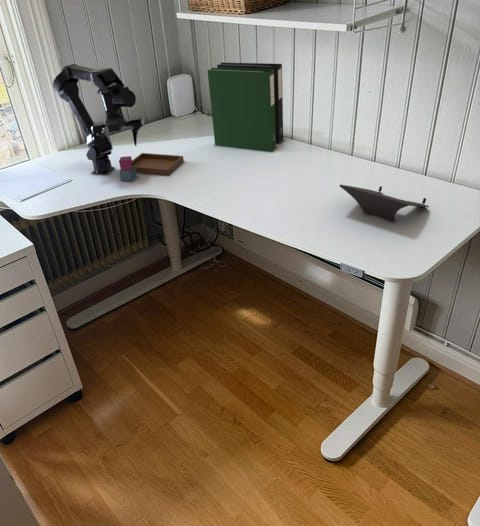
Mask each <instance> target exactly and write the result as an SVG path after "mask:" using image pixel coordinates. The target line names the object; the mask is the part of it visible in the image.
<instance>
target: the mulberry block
mask: <svg viewBox="0 0 480 526" xmlns="http://www.w3.org/2000/svg"><path fill="white" fill-rule="evenodd" d="M132 160H133V159H132V156H131V155H129V156H120V158H119V159H118V164H119V168H120V169H121V170H131V169H132V167H133V164H132Z"/></svg>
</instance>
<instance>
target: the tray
mask: <svg viewBox="0 0 480 526" xmlns="http://www.w3.org/2000/svg"><path fill="white" fill-rule="evenodd" d="M184 162H185V161H184V156H183V155H175V154H162V153H161V154H160V153H148V152H147V153H146V152H141V153H140V154H138V155H137V156H136V157H135V158H134V159H132V164H133V166H135V169H136V174H144V175H154V176H155V175H156V176H164V177H165V176H166V177H169V176H171V174H173V172H175V171H176V170H177V169H178V168H179V167H180V166H181V165H182V164H183V163H184Z"/></svg>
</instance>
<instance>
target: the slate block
mask: <svg viewBox="0 0 480 526" xmlns="http://www.w3.org/2000/svg"><path fill="white" fill-rule="evenodd" d="M118 171H119V176H120V180H121V181H122V182H133V181H134V180H136V179H137V177H138V175H137V174H138V173H136V169H135V166H133V167H132V169H131V170H121V168H120V169H118Z"/></svg>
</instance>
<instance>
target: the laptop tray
mask: <svg viewBox="0 0 480 526" xmlns="http://www.w3.org/2000/svg"><path fill="white" fill-rule="evenodd" d="M339 188H341V189H342V190H344V191H345V192H346V193H347V194H348V195H350V196H351V197H352V198H353V199H354V200H355V202H356V203H357V204H358V205H359V206H360V208H361V211H362V212H363V213H364V214H366V215H369V216H373V217H376V218H380V219H383V220H386V221H389V222H392V223H394V222H395V219H396V214H397V213H398V211H400V210H402V209H404V208H406V207H415V208H419V209H421V210H423V211H427V210H428V208H429V207H430V206H429V205H427V204H426V201H427V198H426V197H424V198H422V201H421V203H420V202H415V201H411V200H406V199H405V200H404V199H401V198H396V197H393V196H389V195H386V194H384V192H382V189H383V186H379V188H378V191H376V190H374V189H373V190H372V189H369V188H363V187H357V186H352V185H346V184H339Z"/></svg>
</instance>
